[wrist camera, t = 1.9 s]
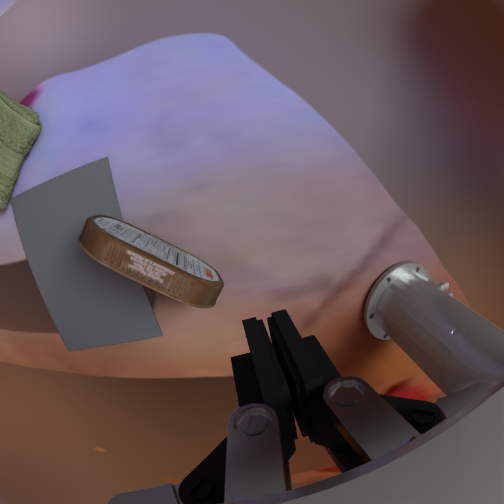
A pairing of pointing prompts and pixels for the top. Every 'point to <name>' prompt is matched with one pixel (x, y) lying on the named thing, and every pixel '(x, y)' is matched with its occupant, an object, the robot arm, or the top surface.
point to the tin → (150, 261)
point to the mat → (80, 261)
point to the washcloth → (14, 142)
